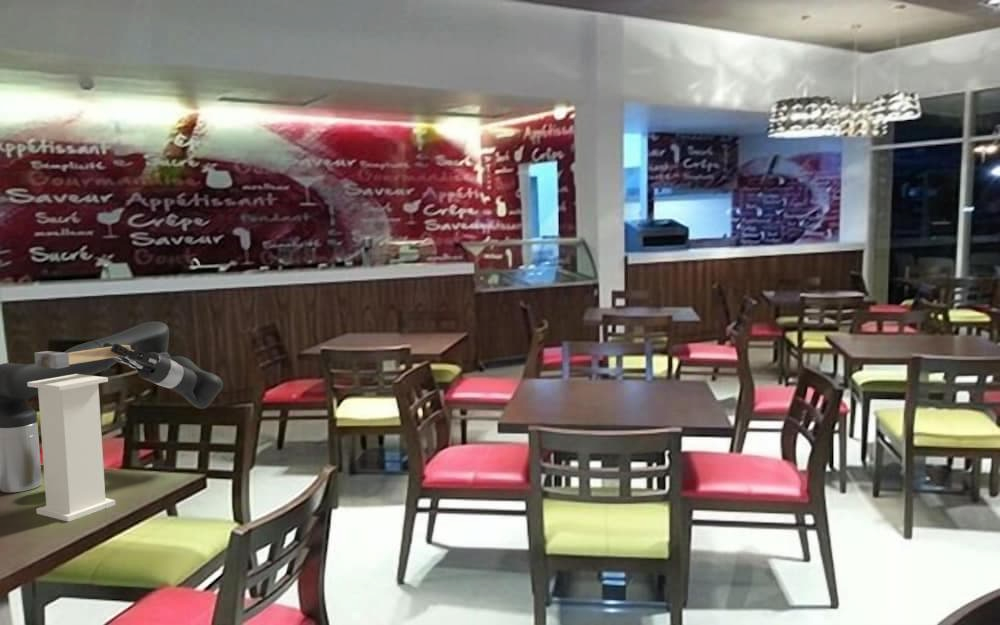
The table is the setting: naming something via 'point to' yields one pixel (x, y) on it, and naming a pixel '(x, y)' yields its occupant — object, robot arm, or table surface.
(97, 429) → the stand
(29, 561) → the table surface
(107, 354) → the hammer
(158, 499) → the table surface
